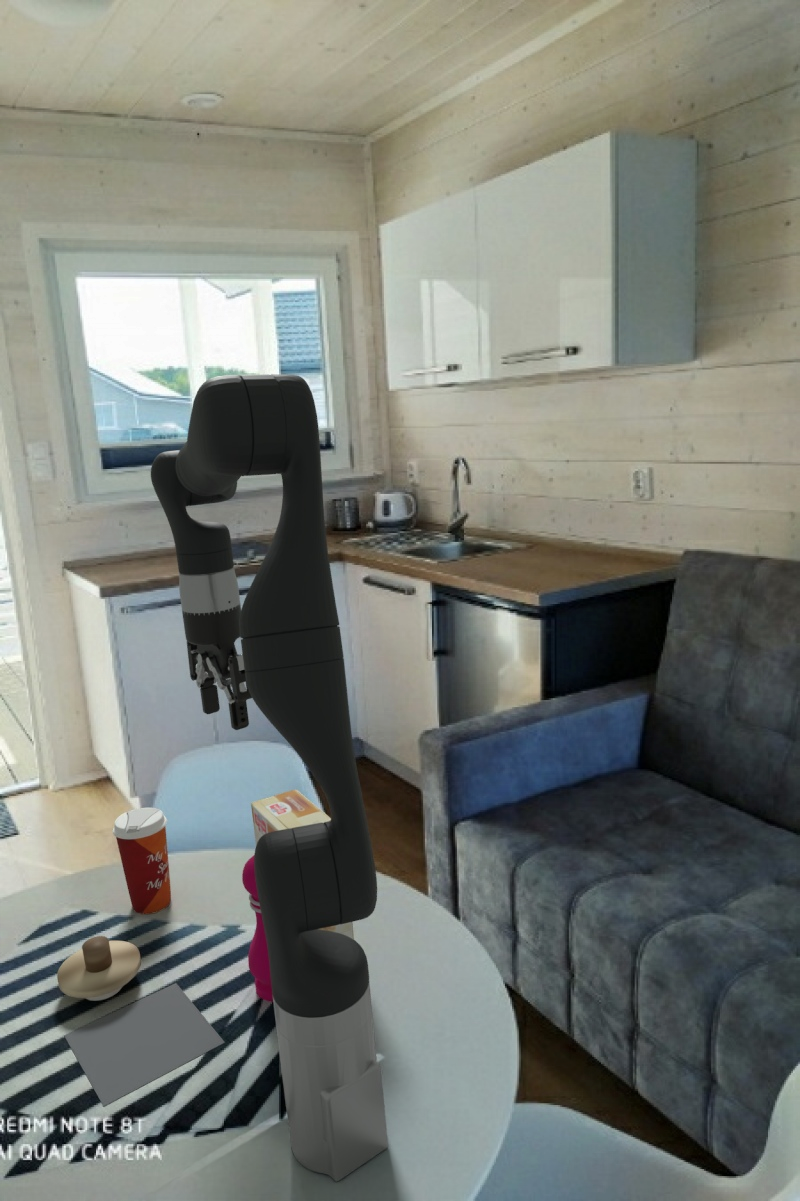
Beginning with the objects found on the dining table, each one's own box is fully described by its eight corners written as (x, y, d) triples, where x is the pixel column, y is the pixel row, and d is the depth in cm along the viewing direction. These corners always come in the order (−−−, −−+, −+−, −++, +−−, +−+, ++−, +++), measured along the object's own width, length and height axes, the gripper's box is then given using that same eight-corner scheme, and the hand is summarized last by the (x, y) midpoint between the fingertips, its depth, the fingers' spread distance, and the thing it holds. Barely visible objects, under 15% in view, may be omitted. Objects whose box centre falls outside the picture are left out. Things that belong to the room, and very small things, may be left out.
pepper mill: (312, 1002, 107) (295, 854, 103) (252, 1013, 106) (232, 863, 102) (308, 965, 114) (292, 825, 110) (252, 975, 113) (233, 834, 109)
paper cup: (170, 917, 128) (157, 828, 124) (118, 920, 128) (103, 832, 125) (184, 887, 135) (172, 803, 132) (134, 890, 136) (121, 806, 132)
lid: (152, 974, 111) (147, 946, 110) (70, 1009, 105) (65, 980, 104) (126, 937, 119) (122, 911, 118) (49, 968, 113) (44, 941, 112)
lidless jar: (75, 1004, 111) (111, 1007, 110) (71, 983, 110) (107, 986, 109) (96, 978, 115) (131, 981, 114) (93, 958, 115) (128, 961, 114)
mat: (225, 1046, 101) (224, 1042, 101) (104, 1110, 93) (103, 1106, 93) (176, 986, 112) (176, 982, 112) (64, 1039, 104) (64, 1035, 104)
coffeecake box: (359, 967, 113) (346, 828, 109) (308, 988, 110) (293, 846, 105) (310, 912, 126) (297, 786, 122) (264, 930, 123) (248, 801, 118)
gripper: (262, 605, 112) (276, 725, 116) (212, 590, 123) (226, 700, 127) (208, 618, 107) (224, 742, 111) (161, 601, 119) (177, 714, 122)
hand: (225, 719), depth 119 cm, fingers open, 8 cm apart
